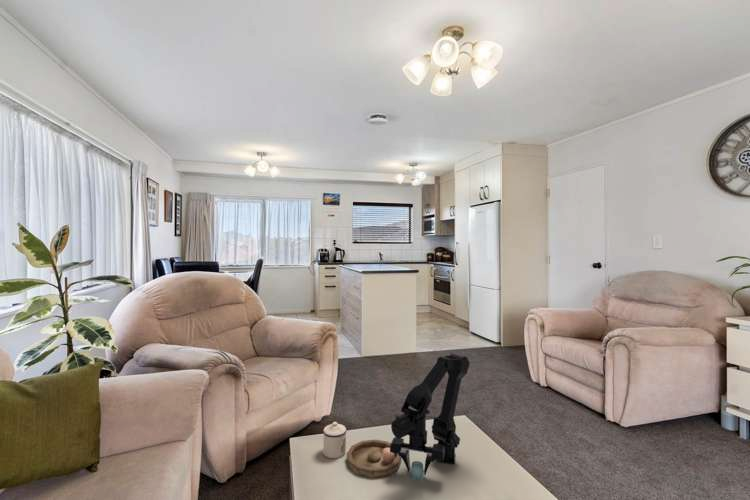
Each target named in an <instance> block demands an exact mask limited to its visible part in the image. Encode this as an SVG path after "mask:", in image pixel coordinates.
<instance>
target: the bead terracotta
mask: <svg viewBox="0 0 750 500" xmlns="http://www.w3.org/2000/svg"><path fill="white" fill-rule="evenodd" d="M393 462H394V453H392V452H390V448H384V449H383V463H385V464H388V465H389V464H391V463H393Z"/></svg>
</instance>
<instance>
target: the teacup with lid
mask: <svg viewBox="0 0 750 500" xmlns="http://www.w3.org/2000/svg"><path fill="white" fill-rule="evenodd" d="M322 432H323V433H322V434H323V455H324V456H325V457H326V458H329V459H339V458H342V457H344V455H345V454H346V453H347V452H346V451H347V448H346V444H347V441H346V440H347V436H346V435H347V428H346V426H345V425H343V424H341V423H338V422H337V421H333V422H332V423H330V424H327V425H326V426H324V428H323V431H322Z"/></svg>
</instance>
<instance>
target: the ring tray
mask: <svg viewBox="0 0 750 500" xmlns="http://www.w3.org/2000/svg"><path fill="white" fill-rule="evenodd" d="M390 444H391V442H389V441H387V440H381V439H369V440H361V441H359V442H356V443H355V444H353V445H351V447H350V448H349V450H348V451H347V452H346V461H347V465H348V467H349V469H350V470H351V471H352V472H353V473H355V474H357V475H359V476H362V477H365V478H370V479H371V478H373V479H374V478H375V479H377V478H385V477H389V476H391V475H392V474H394V473H395V472H397V471H398V470H399V468H400V467H401V463H402V460H403V459H402V457H401V456H399V455H398V454H399V453H398V454H397V453H394V462H393V463H391V464H389V465H388V464H385V463H383V449H384V448H390Z"/></svg>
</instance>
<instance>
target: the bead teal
mask: <svg viewBox="0 0 750 500" xmlns="http://www.w3.org/2000/svg"><path fill="white" fill-rule="evenodd" d="M410 472H411V474H410V475H411V478H412V479H414V480H421V479H423V478H424V464H423V462H421V461H418V460H415V461H414V460H413V461H412V462H411V470H410Z"/></svg>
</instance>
